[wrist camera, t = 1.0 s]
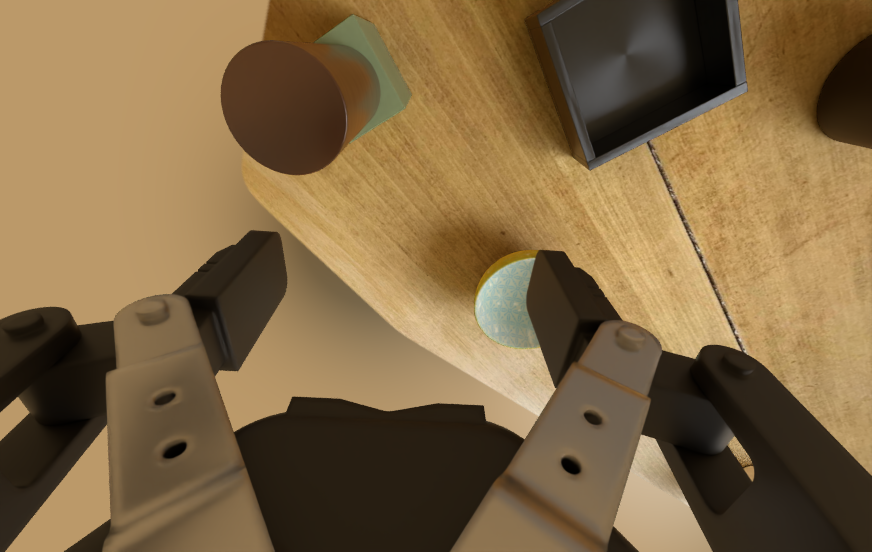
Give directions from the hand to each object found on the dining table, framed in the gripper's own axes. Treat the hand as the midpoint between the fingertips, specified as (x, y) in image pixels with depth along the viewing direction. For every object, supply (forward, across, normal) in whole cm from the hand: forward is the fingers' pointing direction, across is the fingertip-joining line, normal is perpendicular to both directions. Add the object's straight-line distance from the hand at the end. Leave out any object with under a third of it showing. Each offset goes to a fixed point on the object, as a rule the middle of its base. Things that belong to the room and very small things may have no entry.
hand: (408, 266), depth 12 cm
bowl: (+26, -12, +15) cm, 32 cm away
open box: (+26, -16, -7) cm, 31 cm away
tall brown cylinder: (+17, +6, -3) cm, 18 cm away
